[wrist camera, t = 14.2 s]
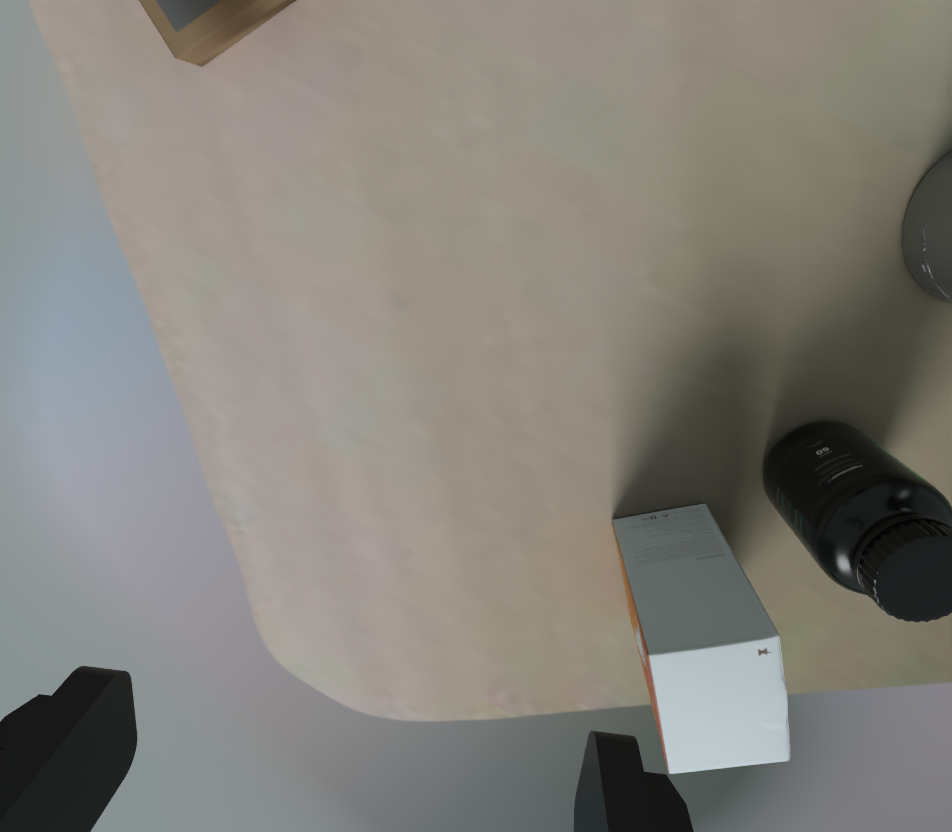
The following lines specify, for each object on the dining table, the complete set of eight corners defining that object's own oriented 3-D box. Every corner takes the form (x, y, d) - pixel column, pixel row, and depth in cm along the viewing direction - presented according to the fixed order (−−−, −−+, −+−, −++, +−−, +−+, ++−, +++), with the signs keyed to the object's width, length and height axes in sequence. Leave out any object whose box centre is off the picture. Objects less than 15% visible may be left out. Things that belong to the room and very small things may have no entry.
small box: (609, 517, 43) (645, 653, 31) (707, 500, 43) (784, 633, 30) (627, 617, 46) (668, 778, 34) (720, 603, 45) (795, 763, 33)
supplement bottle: (865, 404, 40) (1002, 497, 29) (879, 501, 42) (1013, 622, 31) (750, 436, 41) (839, 537, 30) (770, 528, 43) (860, 654, 32)
